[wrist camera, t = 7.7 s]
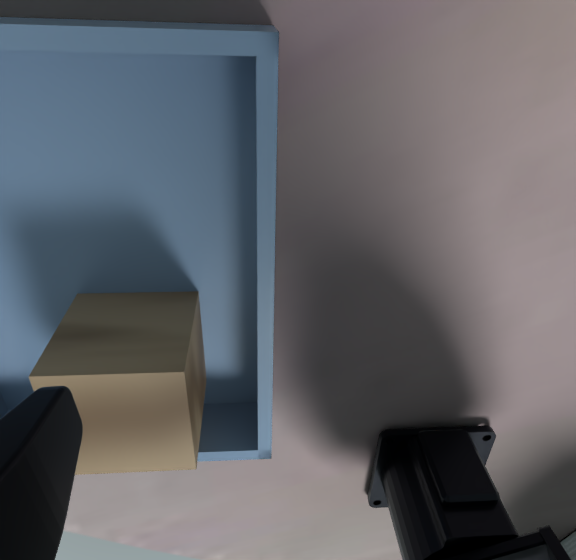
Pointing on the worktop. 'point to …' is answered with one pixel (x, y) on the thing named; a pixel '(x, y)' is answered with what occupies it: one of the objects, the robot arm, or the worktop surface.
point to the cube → (131, 378)
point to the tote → (143, 195)
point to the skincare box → (570, 545)
